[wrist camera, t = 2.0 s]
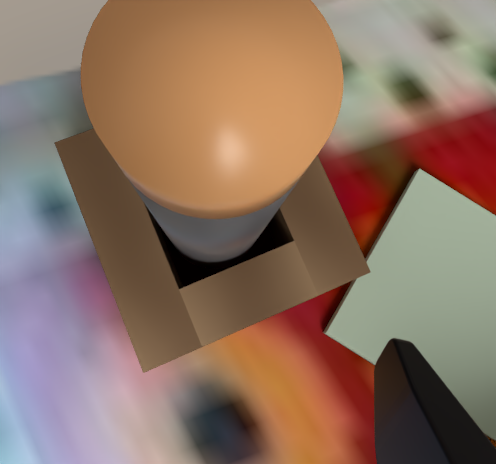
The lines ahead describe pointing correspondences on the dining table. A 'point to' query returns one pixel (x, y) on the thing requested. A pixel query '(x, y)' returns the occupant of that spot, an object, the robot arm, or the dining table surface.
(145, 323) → the socket block
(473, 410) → the mat
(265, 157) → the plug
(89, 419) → the dining table surface
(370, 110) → the dining table surface
